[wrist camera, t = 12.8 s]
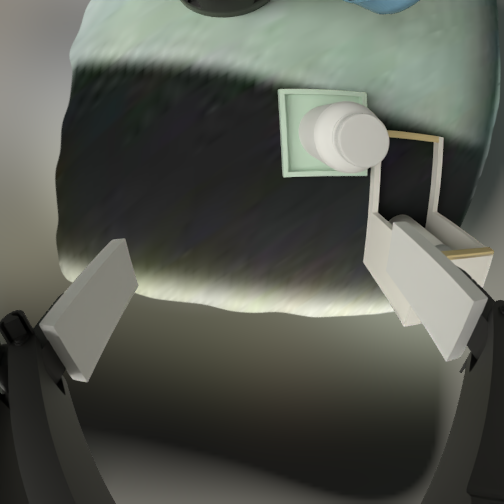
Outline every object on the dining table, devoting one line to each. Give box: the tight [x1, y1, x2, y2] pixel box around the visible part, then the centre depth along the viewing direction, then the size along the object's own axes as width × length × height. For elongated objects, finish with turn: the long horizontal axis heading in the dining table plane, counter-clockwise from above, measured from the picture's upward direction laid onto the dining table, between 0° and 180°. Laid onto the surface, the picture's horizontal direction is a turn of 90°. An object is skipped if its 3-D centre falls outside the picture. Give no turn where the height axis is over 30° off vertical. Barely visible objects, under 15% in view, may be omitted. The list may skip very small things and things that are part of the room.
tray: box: [278, 89, 367, 177], centre depth 36 cm, size 12×12×2 cm
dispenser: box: [363, 130, 494, 327], centre depth 33 cm, size 22×13×17 cm, turn 4°
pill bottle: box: [299, 101, 389, 173], centre depth 29 cm, size 8×8×15 cm
